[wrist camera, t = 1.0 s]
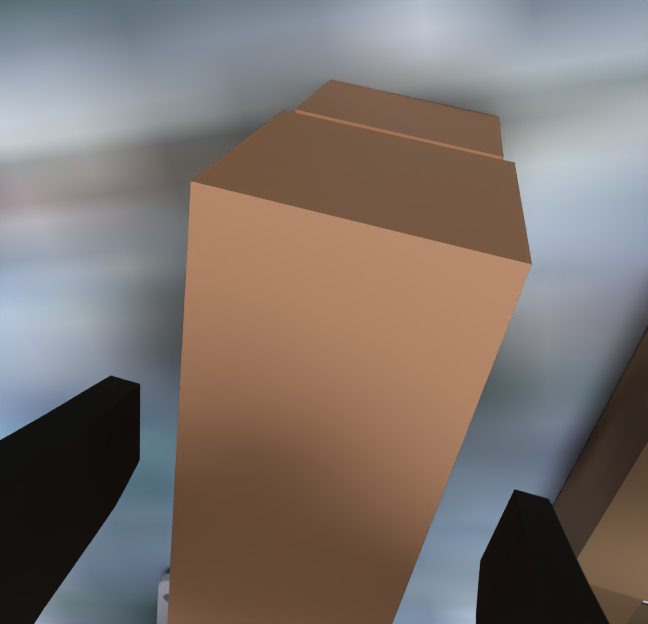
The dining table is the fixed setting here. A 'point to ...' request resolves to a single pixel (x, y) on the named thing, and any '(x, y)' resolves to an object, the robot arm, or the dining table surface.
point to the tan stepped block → (335, 352)
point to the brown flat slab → (614, 500)
